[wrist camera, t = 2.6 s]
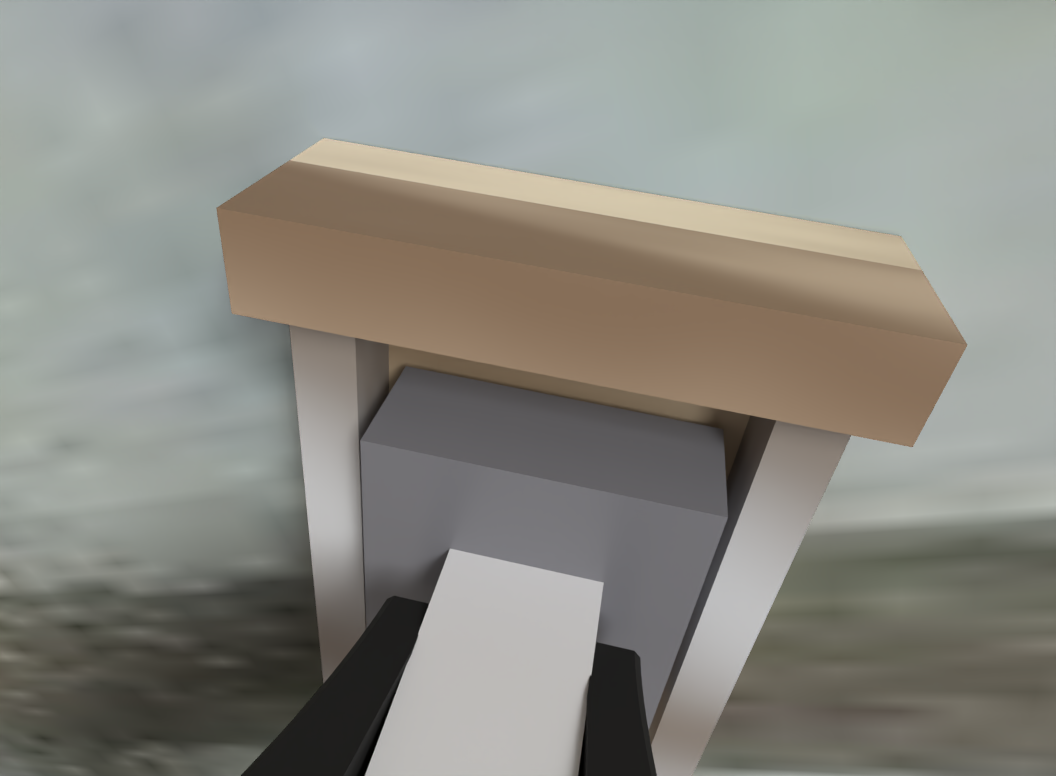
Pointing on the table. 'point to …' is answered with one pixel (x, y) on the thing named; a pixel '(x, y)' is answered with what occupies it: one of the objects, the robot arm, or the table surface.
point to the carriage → (527, 563)
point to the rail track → (588, 352)
